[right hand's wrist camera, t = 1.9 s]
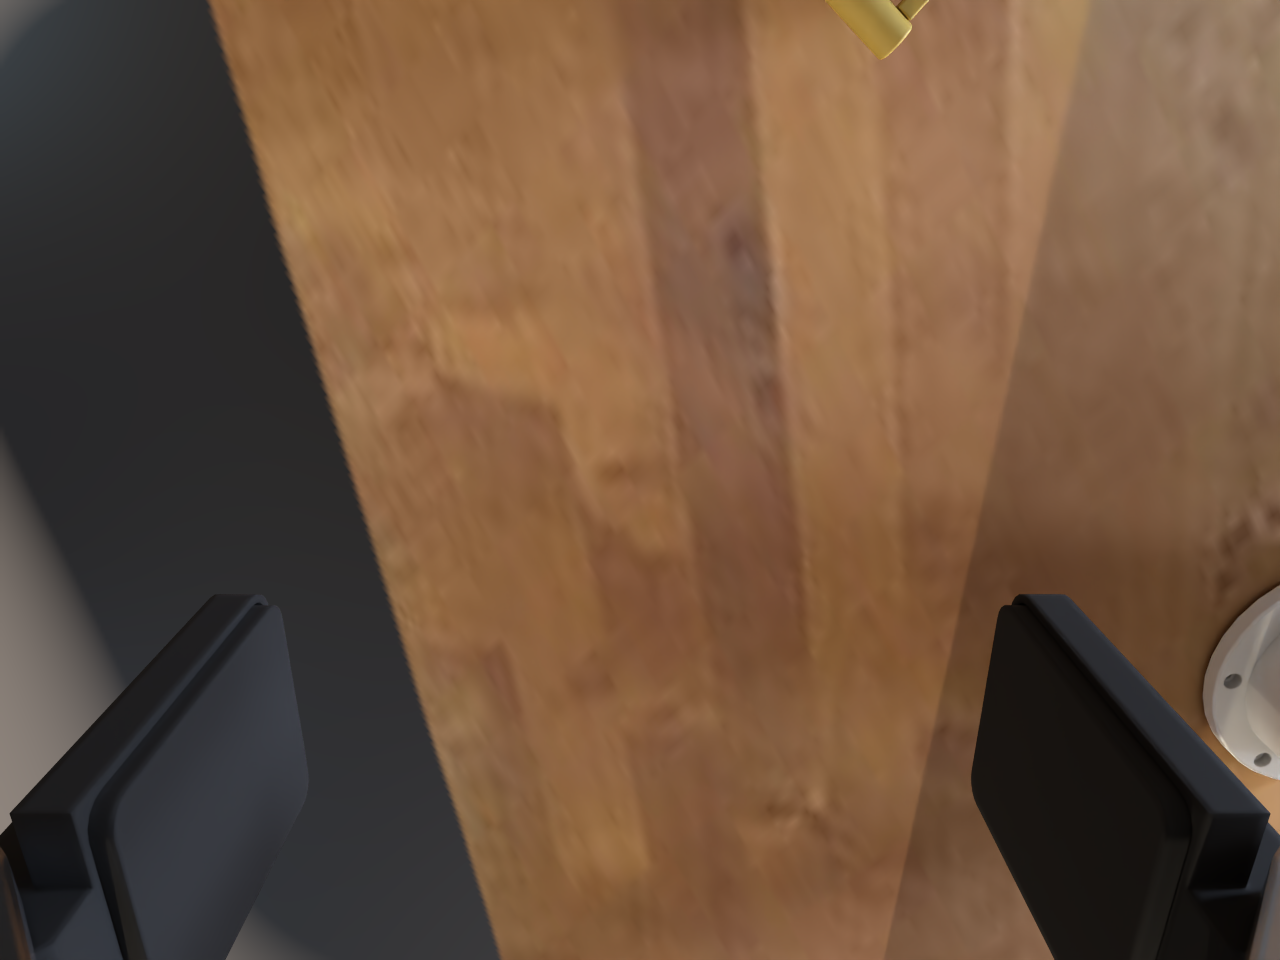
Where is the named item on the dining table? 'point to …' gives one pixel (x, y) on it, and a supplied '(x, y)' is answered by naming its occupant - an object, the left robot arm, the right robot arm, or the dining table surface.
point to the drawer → (878, 21)
